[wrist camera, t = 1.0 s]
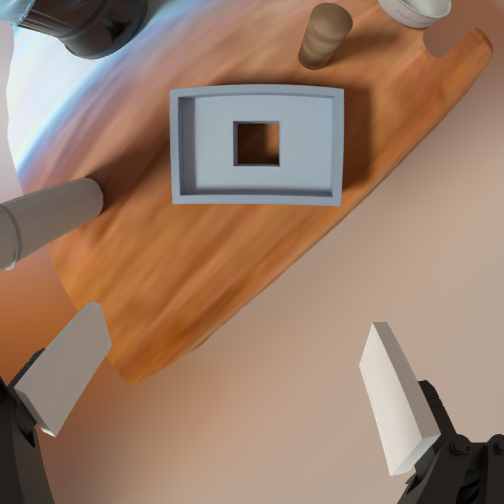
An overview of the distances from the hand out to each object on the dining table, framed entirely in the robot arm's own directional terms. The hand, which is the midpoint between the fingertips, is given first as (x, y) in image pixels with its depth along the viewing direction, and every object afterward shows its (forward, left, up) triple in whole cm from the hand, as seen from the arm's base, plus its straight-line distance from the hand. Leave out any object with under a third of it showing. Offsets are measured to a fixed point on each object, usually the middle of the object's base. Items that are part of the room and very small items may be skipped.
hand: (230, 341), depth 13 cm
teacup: (-35, +24, -30) cm, 52 cm away
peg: (-22, +8, -30) cm, 38 cm away
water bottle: (-2, -28, -30) cm, 41 cm away
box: (-9, 0, -30) cm, 31 cm away
